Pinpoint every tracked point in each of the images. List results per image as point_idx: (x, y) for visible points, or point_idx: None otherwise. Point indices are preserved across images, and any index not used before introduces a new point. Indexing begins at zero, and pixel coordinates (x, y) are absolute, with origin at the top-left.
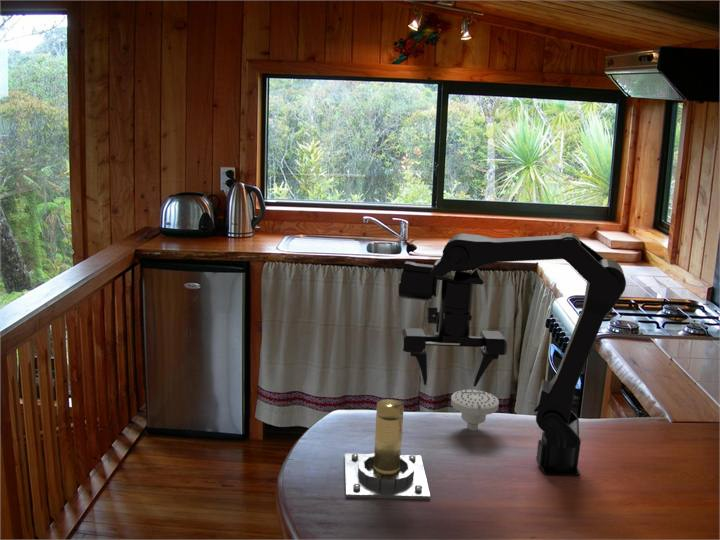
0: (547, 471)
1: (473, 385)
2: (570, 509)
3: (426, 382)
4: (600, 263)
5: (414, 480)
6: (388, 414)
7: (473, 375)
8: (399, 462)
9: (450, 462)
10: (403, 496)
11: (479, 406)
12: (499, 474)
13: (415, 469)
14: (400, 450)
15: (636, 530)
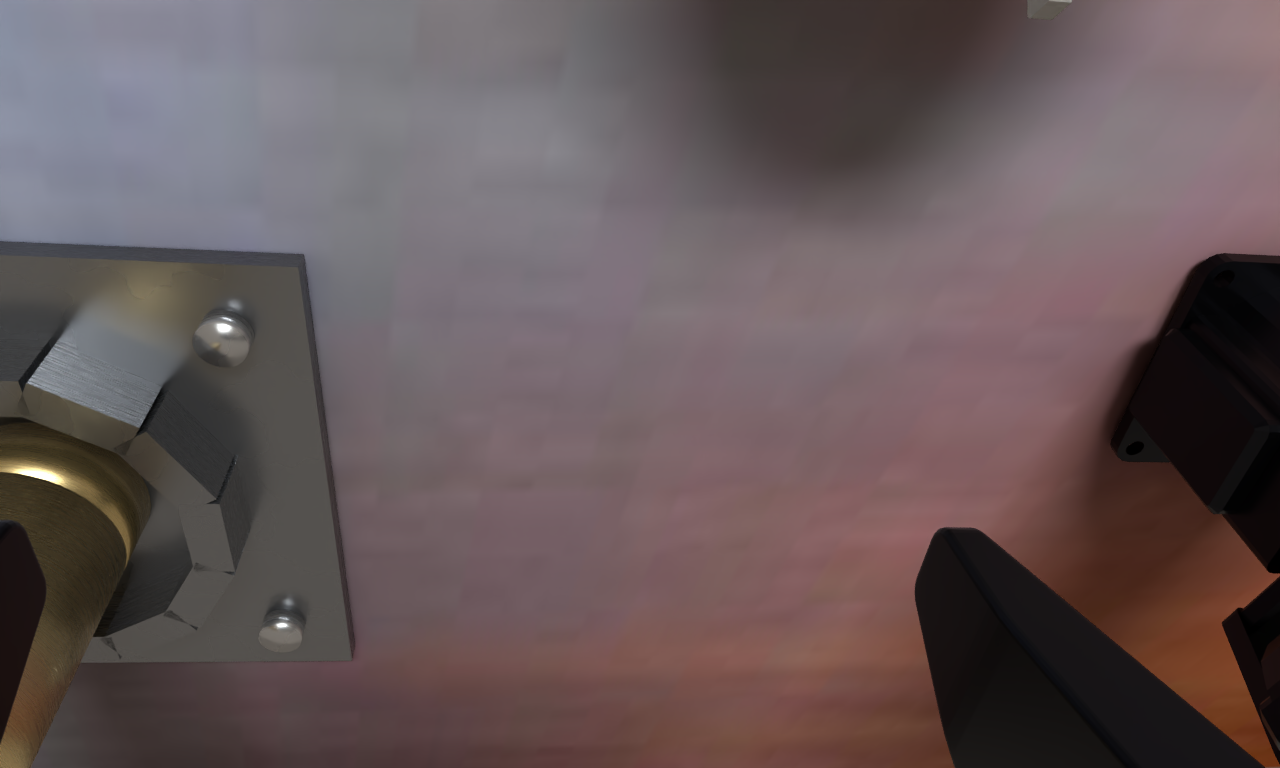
0: (1139, 439)
1: (921, 579)
2: None
3: (24, 663)
4: None
5: (257, 548)
6: None
7: (1012, 646)
8: (110, 597)
9: (536, 305)
10: (202, 658)
11: (1037, 16)
12: (829, 437)
13: (259, 444)
14: (74, 674)
15: None
